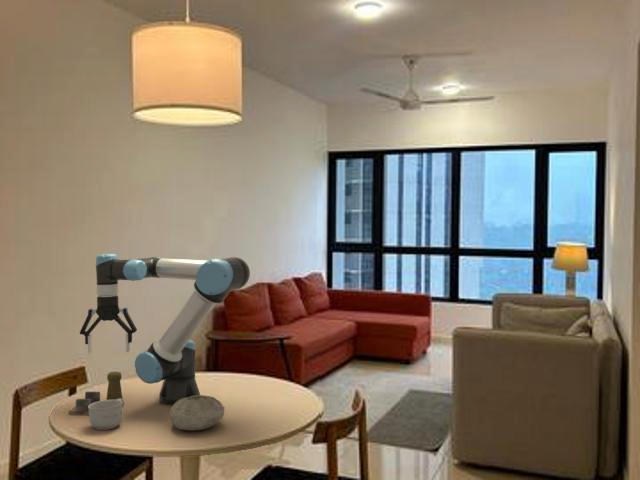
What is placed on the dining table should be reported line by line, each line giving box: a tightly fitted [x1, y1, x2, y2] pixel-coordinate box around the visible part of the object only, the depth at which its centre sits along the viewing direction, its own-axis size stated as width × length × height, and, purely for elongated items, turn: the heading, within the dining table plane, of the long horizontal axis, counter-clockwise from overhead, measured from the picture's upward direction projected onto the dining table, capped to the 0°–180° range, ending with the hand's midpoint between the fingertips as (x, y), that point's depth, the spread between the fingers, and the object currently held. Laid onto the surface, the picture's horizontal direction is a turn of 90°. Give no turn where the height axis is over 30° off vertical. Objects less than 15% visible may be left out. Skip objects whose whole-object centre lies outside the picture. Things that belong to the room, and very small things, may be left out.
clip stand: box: [68, 391, 101, 415], centre depth 224 cm, size 10×10×5 cm
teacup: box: [88, 399, 125, 431], centre depth 208 cm, size 14×11×8 cm
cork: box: [105, 371, 124, 400], centre depth 235 cm, size 6×6×11 cm
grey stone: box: [169, 394, 225, 432], centre depth 208 cm, size 18×18×10 cm
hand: (109, 352), depth 233 cm, fingers open, 13 cm apart
